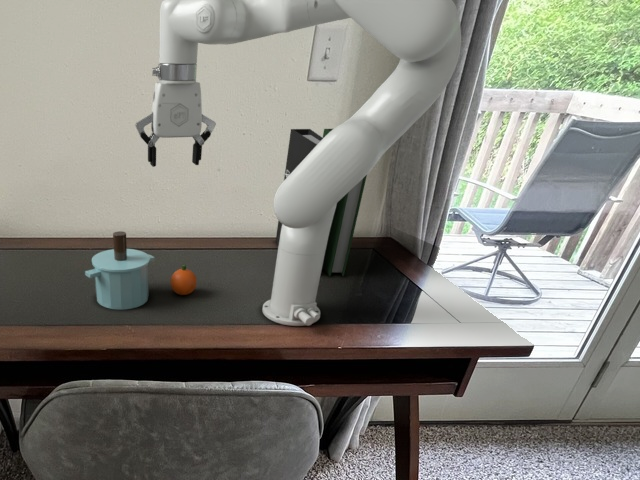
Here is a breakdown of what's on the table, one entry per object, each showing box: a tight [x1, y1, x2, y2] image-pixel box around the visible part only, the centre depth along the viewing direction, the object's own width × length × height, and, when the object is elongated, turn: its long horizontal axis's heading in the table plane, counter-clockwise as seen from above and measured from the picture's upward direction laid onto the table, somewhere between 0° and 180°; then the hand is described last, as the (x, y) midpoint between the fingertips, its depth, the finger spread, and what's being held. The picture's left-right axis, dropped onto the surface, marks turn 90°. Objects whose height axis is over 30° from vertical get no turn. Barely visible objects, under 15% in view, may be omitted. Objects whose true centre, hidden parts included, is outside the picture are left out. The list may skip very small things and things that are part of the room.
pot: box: [84, 254, 156, 311], centre depth 114 cm, size 13×18×10 cm
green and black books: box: [275, 128, 368, 277], centre depth 128 cm, size 27×15×32 cm, turn 176°
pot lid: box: [91, 230, 151, 272], centre depth 109 cm, size 14×14×7 cm
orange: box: [169, 264, 198, 296], centre depth 115 cm, size 6×6×8 cm
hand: (174, 164), depth 105 cm, fingers open, 9 cm apart
